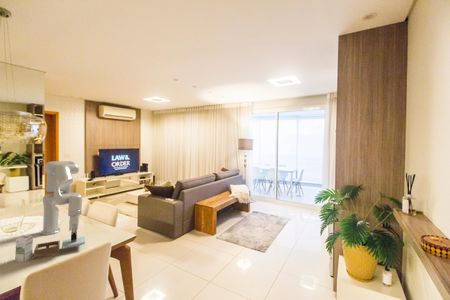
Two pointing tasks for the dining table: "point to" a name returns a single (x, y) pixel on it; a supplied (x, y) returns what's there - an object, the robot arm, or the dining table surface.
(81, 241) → the lid
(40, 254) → the box
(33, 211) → the dining table surface
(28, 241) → the syrup box
